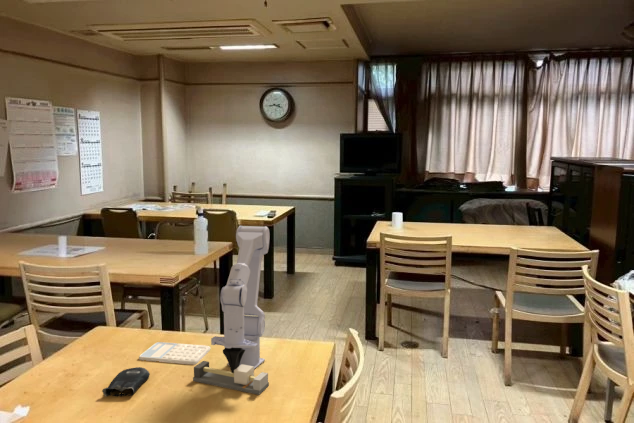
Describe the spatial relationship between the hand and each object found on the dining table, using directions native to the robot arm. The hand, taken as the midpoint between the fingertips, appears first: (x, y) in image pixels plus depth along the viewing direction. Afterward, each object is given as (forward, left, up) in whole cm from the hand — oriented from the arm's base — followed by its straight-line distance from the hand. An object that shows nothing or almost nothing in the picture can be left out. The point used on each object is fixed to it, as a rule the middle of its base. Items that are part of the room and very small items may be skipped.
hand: (234, 371), depth 149 cm
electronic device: (-28, -12, -4) cm, 31 cm away
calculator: (-30, +11, -5) cm, 32 cm away
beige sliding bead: (+3, 0, -2) cm, 4 cm away
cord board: (-2, 0, -4) cm, 4 cm away
